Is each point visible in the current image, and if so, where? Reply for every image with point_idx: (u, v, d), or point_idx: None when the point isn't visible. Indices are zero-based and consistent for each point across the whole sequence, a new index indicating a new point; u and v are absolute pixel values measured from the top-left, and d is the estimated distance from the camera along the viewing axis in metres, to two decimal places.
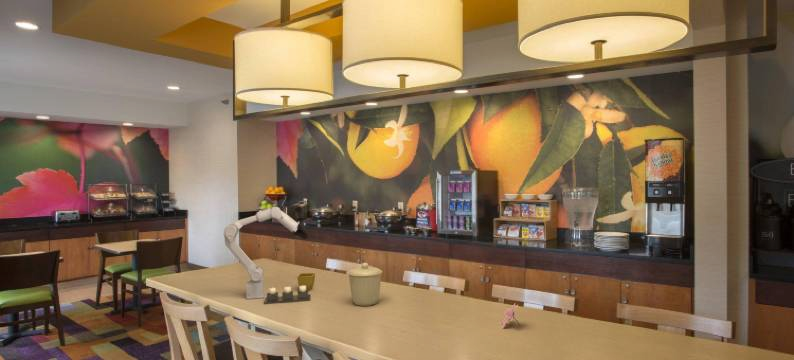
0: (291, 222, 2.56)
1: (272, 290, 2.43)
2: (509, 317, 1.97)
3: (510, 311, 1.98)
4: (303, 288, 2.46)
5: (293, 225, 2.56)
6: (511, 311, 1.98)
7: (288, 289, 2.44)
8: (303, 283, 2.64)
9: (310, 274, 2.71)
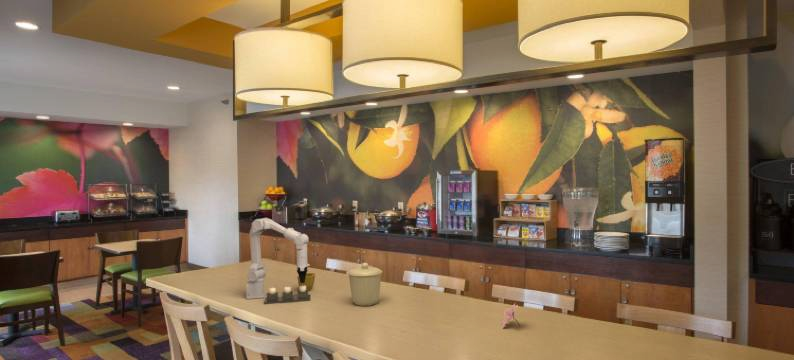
0: (304, 260, 2.45)
1: (272, 290, 2.43)
2: (509, 317, 1.97)
3: (510, 311, 1.98)
4: (303, 288, 2.46)
5: (303, 263, 2.45)
6: (511, 311, 1.98)
7: (288, 289, 2.44)
8: (303, 283, 2.64)
9: (310, 274, 2.71)
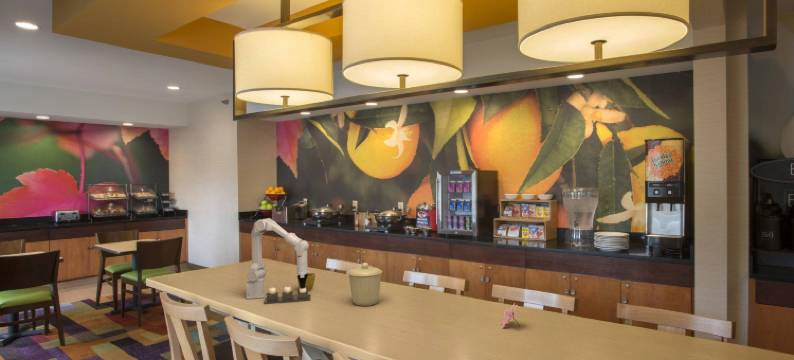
0: (304, 266, 2.45)
1: (272, 290, 2.43)
2: (508, 317, 1.97)
3: (509, 311, 1.98)
4: (303, 290, 2.46)
5: (303, 270, 2.45)
6: (510, 311, 1.98)
7: (288, 289, 2.44)
8: None
9: (310, 274, 2.71)
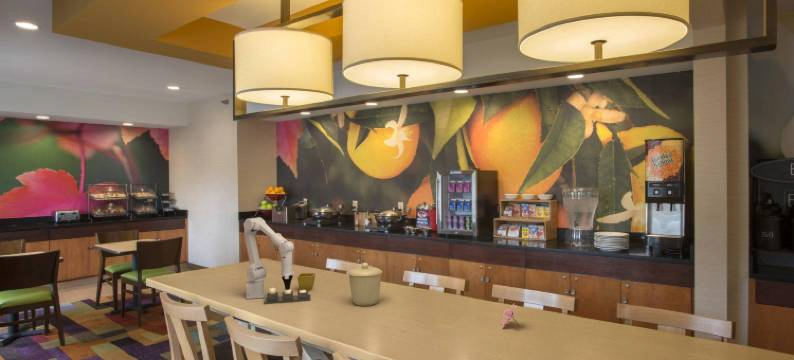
0: (289, 268, 2.44)
1: (272, 290, 2.43)
2: (508, 317, 1.97)
3: (509, 311, 1.98)
4: (303, 292, 2.46)
5: (288, 271, 2.43)
6: (510, 311, 1.97)
7: (288, 291, 2.44)
8: (303, 283, 2.64)
9: (310, 274, 2.71)
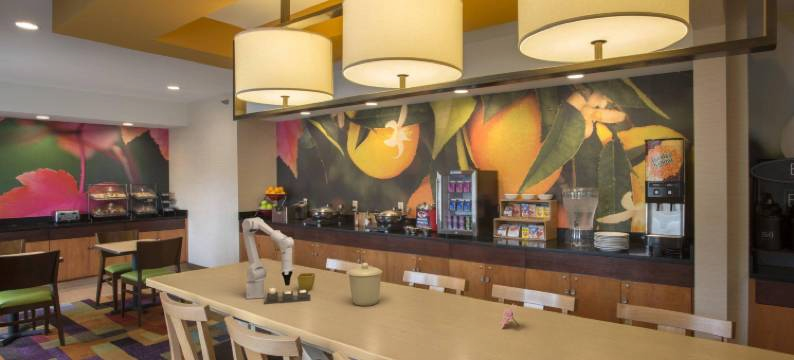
0: (289, 263, 2.44)
1: (272, 290, 2.43)
2: (508, 317, 1.97)
3: (509, 311, 1.98)
4: (303, 292, 2.46)
5: (288, 267, 2.43)
6: (510, 311, 1.97)
7: (288, 293, 2.44)
8: (303, 283, 2.64)
9: (310, 274, 2.71)
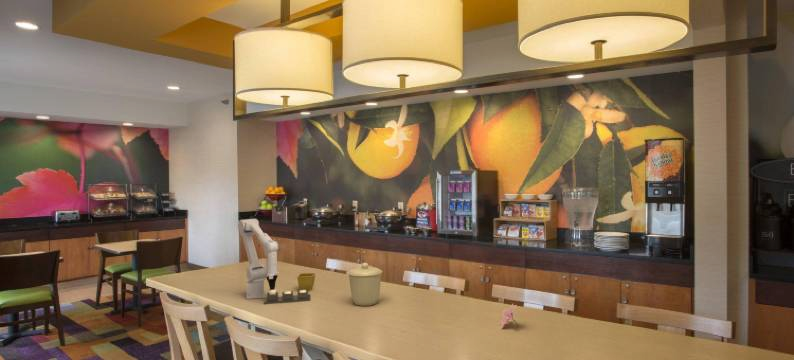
0: (273, 267, 2.42)
1: (272, 291, 2.43)
2: (507, 317, 1.97)
3: (508, 311, 1.98)
4: (303, 292, 2.46)
5: (272, 271, 2.42)
6: (509, 311, 1.97)
7: (288, 293, 2.44)
8: (303, 283, 2.64)
9: (310, 274, 2.71)
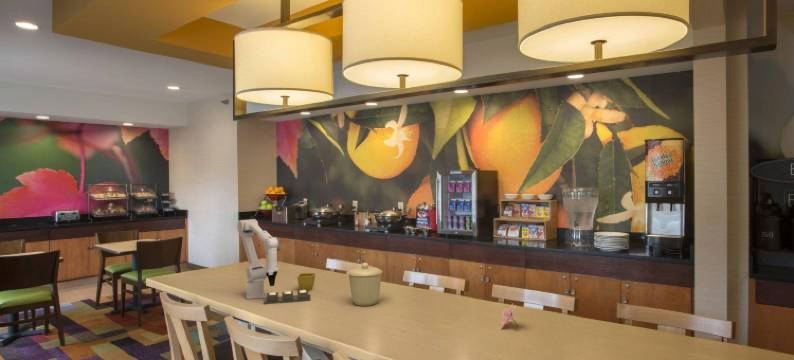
0: (273, 264, 2.42)
1: None
2: (507, 318, 1.97)
3: (508, 311, 1.98)
4: (303, 292, 2.46)
5: (272, 267, 2.42)
6: (509, 311, 1.97)
7: (288, 293, 2.44)
8: (303, 283, 2.64)
9: (310, 274, 2.71)
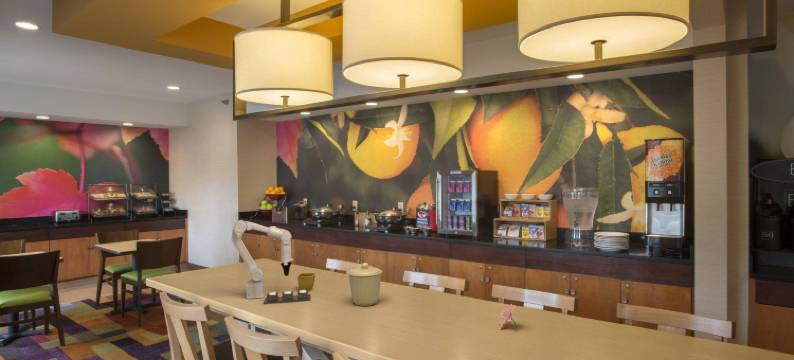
0: (288, 255, 2.57)
1: None
2: (506, 318, 1.96)
3: (507, 312, 1.97)
4: (303, 292, 2.46)
5: (287, 258, 2.57)
6: (508, 312, 1.97)
7: (288, 293, 2.44)
8: (303, 283, 2.64)
9: (310, 274, 2.71)
